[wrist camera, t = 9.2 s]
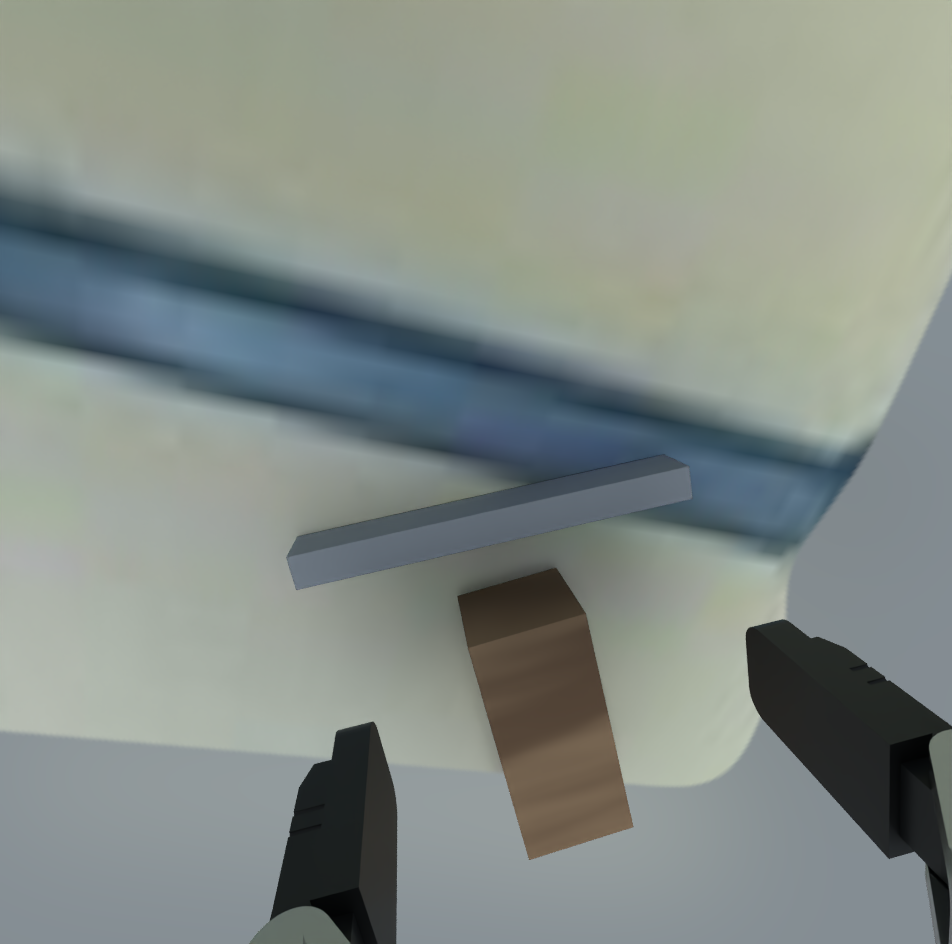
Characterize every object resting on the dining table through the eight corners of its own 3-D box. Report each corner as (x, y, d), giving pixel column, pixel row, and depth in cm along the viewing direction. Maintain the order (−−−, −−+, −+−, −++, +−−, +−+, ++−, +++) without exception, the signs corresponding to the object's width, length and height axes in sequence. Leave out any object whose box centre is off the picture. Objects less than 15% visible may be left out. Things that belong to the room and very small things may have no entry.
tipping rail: (297, 536, 21) (286, 557, 19) (663, 454, 22) (689, 466, 20) (306, 566, 21) (296, 590, 19) (667, 484, 22) (692, 498, 20)
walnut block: (468, 647, 19) (530, 863, 21) (585, 613, 19) (634, 830, 21) (457, 593, 22) (510, 780, 25) (554, 565, 23) (598, 753, 25)
